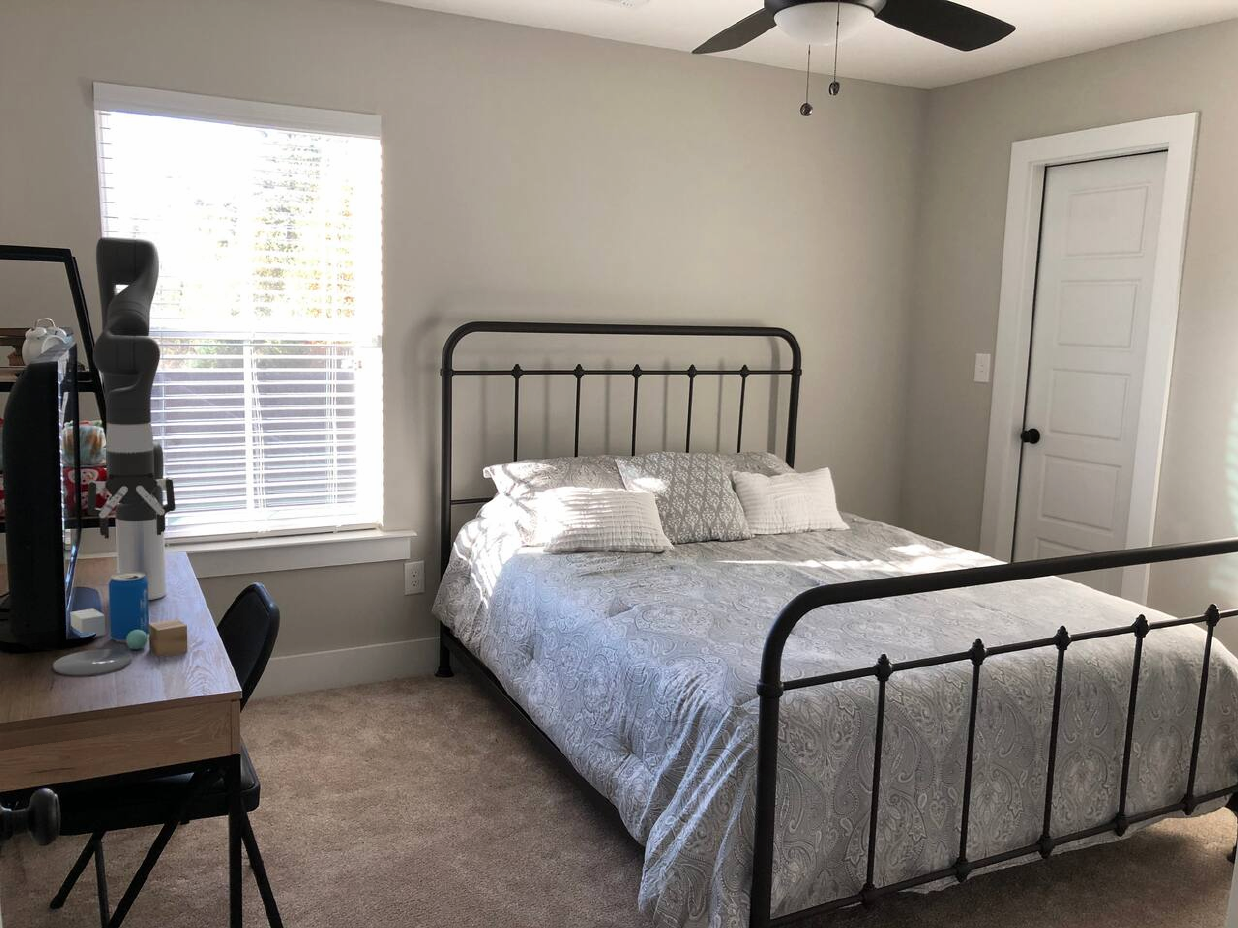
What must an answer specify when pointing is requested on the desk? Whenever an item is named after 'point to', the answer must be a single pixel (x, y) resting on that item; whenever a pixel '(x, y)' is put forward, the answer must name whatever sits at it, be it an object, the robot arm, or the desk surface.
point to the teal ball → (136, 639)
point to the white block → (88, 621)
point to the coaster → (92, 662)
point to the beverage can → (128, 604)
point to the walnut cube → (168, 637)
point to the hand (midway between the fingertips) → (133, 535)
